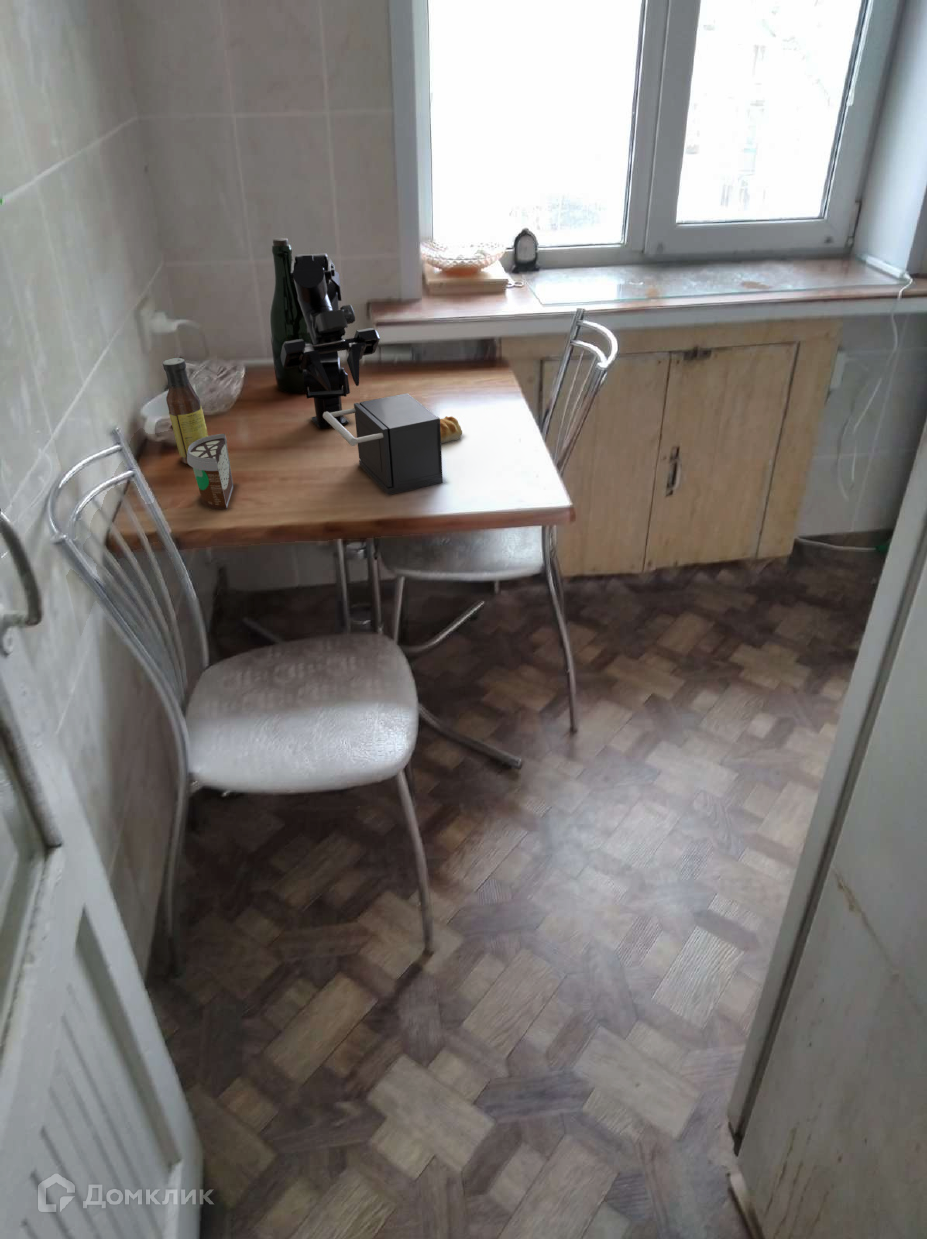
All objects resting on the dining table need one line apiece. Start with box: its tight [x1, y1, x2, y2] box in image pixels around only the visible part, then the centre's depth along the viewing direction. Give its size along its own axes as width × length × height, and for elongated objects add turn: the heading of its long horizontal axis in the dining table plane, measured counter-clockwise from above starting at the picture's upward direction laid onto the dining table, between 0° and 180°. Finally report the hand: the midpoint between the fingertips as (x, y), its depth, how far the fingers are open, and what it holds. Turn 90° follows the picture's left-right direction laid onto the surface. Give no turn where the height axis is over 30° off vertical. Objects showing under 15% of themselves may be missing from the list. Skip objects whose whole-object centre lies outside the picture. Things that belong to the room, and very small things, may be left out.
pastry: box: [440, 415, 463, 444], centre depth 185 cm, size 9×7×4 cm
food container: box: [187, 433, 234, 510], centre depth 162 cm, size 12×6×10 cm, turn 5°
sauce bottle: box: [162, 357, 209, 465], centre depth 174 cm, size 6×6×20 cm
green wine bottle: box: [268, 237, 313, 394], centre depth 205 cm, size 10×10×33 cm
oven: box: [358, 392, 444, 496], centre depth 168 cm, size 11×15×12 cm
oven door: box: [323, 402, 392, 487], centre depth 165 cm, size 7×15×11 cm, turn 26°
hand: (343, 387), depth 173 cm, fingers open, 5 cm apart
